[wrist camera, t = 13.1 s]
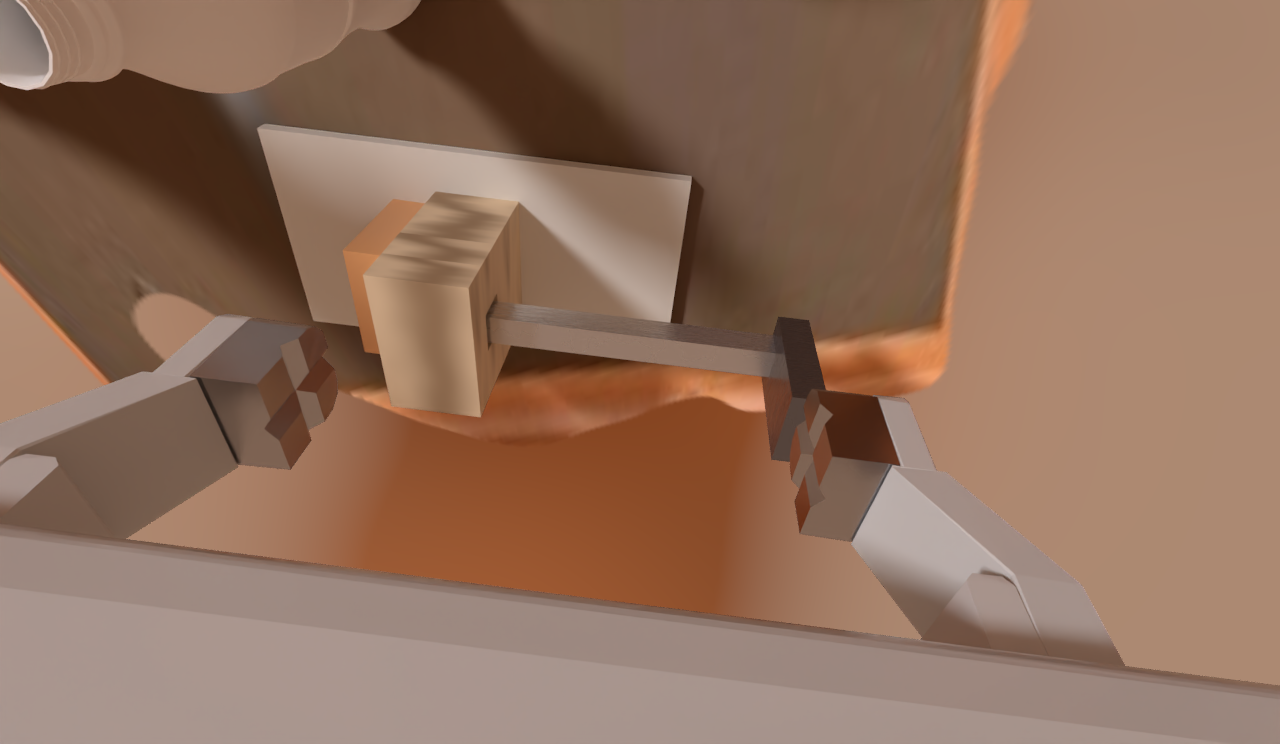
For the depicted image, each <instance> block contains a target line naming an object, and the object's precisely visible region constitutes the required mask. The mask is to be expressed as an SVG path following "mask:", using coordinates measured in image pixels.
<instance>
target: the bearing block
mask: <svg viewBox="0 0 1280 744" xmlns="http://www.w3.org/2000/svg"><path fill="white" fill-rule="evenodd" d="M363 278H364V283H365V288H366V292H367V297H368V301H369V306H370V310H371V315H372V320H373V324H374V329H375V333H376V338H377V342H378V347H379V352H380V356H381V361H382V365H383V370H384V374H385V379H386V384H387V388H388V393H389V397H390V402H391V406H393V407H401V408H409V409H417V410H425V411H433V412H441V413H449V414H457V415H465V416H473V417H481V416H482V414H483V411H484V409H485V406H486V404H487V402H488V399H489V397H490V394H491V392H492V390H493V387H494V385H495V382H496V380H497V378H498V375H499V373H500V370H501V368H502V366H503V363H504V361H505V358H506V356H507V354H508V351H509V349H510V346H511V345H504V344H496V343H488V342H487V329H486V314H487V312H488V310H489V308H490V306H491V304H492V302H493V301H499V302H507V303H516V304H522V287H521V257H520V226H519V202H517V201H509V200H501V199H493V198H485V197H477V196H469V195H460V194H452V193H444V192H436V191H435V193H434V194H433V195H432V196H431V197H430V198H429V200H428V201H427V202H426V203H425V204H424V205H423V206H422V208H421V209H420V210H419V211H418V212H417V213H416V214H415V216H414V217H413V218H412V219H411V220H410V221H409V222H408V224H407V225H406V226H405V227H404V228H403V229H402V231H401V232H400V233H399V234H398V235H397V236H396V237H395V239H394V240H393V241H392V242H391V243H390V244H389V245H388V247H387V248H386V249H385V250H384V251H383V252H382V254H381V255H380V256H379V257H378V258H377V259H376V260H375V262H374V263H373V264H372V265H371V266H370V267H369V268H368V270H367V271H366V272H365V273H364V274H363Z"/></svg>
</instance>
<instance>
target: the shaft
mask: <svg viewBox="0 0 1280 744" xmlns="http://www.w3.org/2000/svg"><path fill="white" fill-rule="evenodd" d="M486 329H487V342H488V343H496V344H504V345H512V346H520V347H528V348H536V349H544V350H552V351H560V352H568V353H577V354H585V355H593V356H601V357H609V358H617V359H625V360H633V361H641V362H649V363H657V364H665V365H673V366H681V367H689V368H697V369H705V370H713V371H721V372H729V373H738V374H746V375H754V376H762V384H763V392H764V401H765V409H766V417H767V426H768V434H769V443H770V450H771V459H772V460H779V461H787V462H790V452H791V445H792V439H793V436H794V433H795V430H796V427H797V426H798V425H799V424H801V423H802V422H804V421H805V420H806V417H805V412H804V404H805V401H806V399H807V396H808V394H809V393H810V391H811V390H812V389H820V390H826V389H825V385H824V381H823V377H822V373H821V368H820V364H819V360H818V356H817V352H816V348H815V344H814V339H813V335H812V331H811V327H810V323H809V320H801V319H793V318H785V317H778V320H777V323H776V327H775V330H774V334H773V335H766V334H758V333H750V332H742V331H733V330H725V329H717V328H709V327H701V326H693V325H685V324H677V323H669V322H661V321H653V320H645V319H637V318H629V317H620V316H612V315H604V314H596V313H588V312H580V311H572V310H564V309H556V308H548V307H540V306H532V305H524V304H516V303H507V302H499V301H493V302H492V304H491V306H490V308H489V310H488V312H487V314H486Z"/></svg>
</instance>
